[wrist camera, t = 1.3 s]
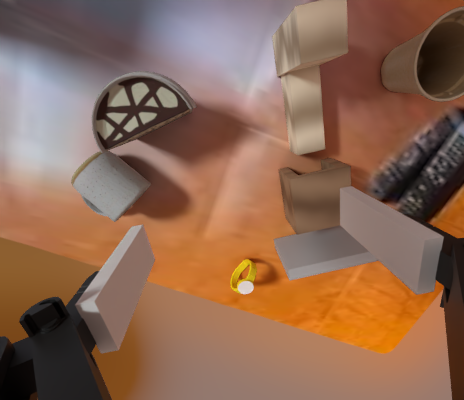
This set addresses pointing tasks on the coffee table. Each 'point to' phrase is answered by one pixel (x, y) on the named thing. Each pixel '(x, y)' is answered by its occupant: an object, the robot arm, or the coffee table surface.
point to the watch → (244, 284)
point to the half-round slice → (137, 107)
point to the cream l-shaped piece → (308, 67)
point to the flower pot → (430, 61)
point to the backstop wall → (320, 252)
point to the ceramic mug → (109, 184)
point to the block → (314, 196)
